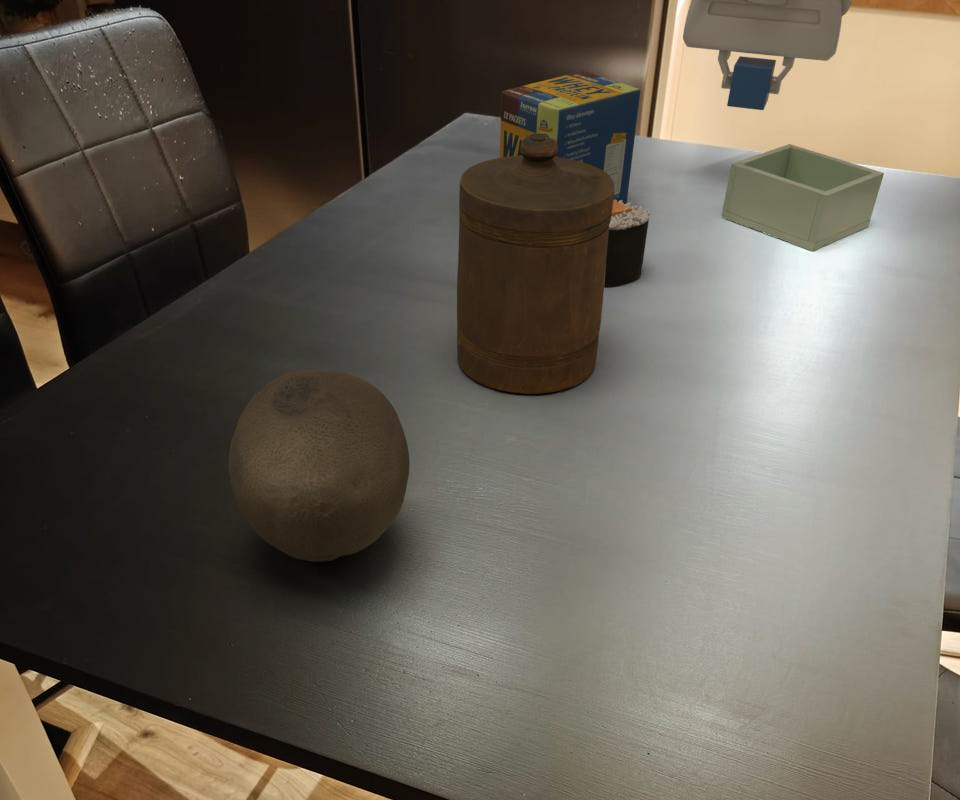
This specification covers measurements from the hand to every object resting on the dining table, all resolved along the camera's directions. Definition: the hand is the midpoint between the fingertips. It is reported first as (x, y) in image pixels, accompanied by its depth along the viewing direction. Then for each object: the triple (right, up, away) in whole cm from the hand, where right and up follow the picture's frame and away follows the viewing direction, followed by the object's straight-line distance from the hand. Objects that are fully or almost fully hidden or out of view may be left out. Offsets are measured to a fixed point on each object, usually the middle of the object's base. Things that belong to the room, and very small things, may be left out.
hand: (749, 90), depth 129 cm
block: (0, -1, +1) cm, 2 cm away
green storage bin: (+6, -18, 0) cm, 19 cm away
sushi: (-21, -30, -13) cm, 39 cm away
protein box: (-26, -17, 0) cm, 31 cm away
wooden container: (-32, -46, -29) cm, 63 cm away
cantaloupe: (-49, -69, -52) cm, 99 cm away
